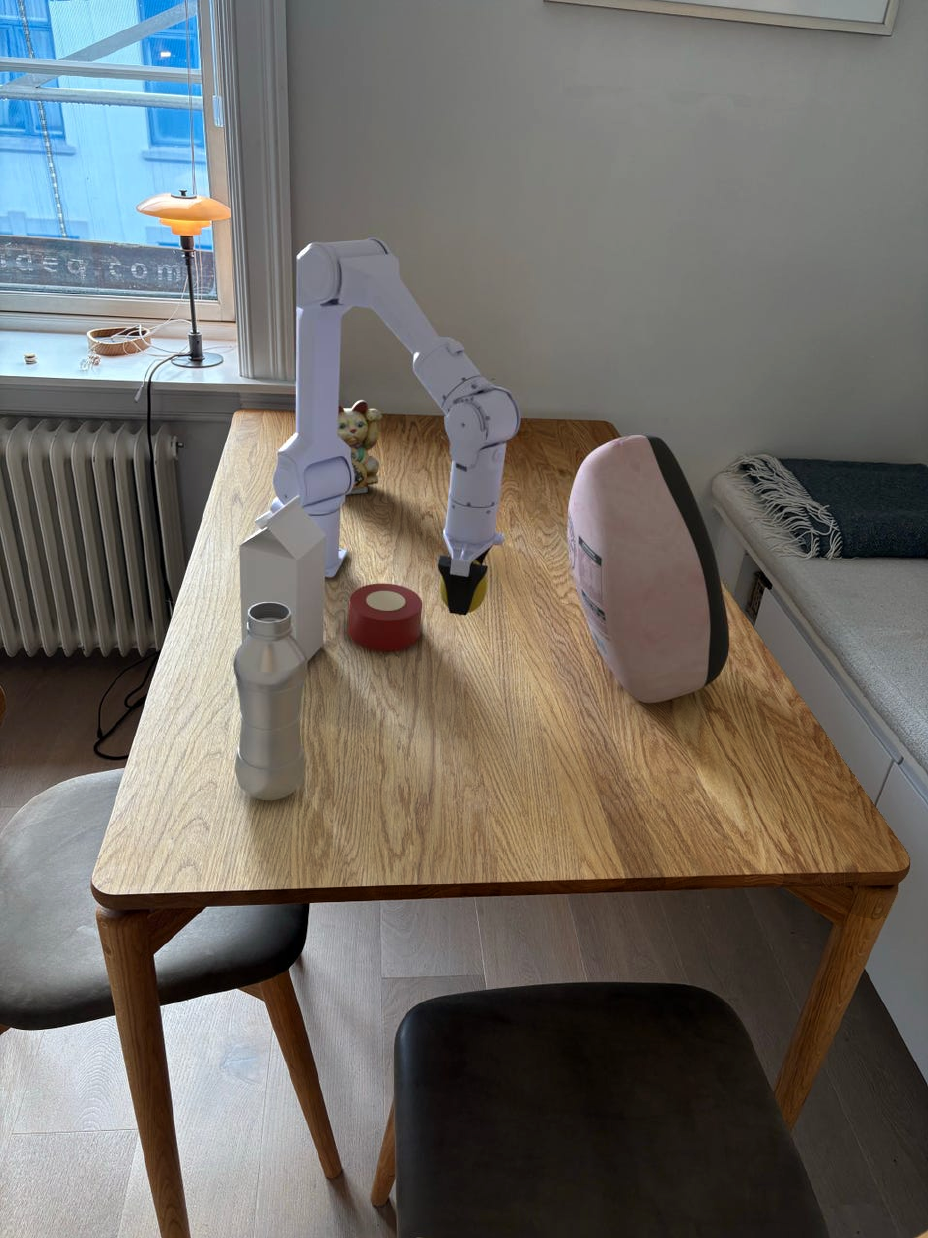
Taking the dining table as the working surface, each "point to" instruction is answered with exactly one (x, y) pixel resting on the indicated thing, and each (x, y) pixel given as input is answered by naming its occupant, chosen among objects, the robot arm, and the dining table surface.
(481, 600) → the lemon
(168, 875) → the dining table surface
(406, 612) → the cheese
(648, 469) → the pink backpack
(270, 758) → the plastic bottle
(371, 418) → the decorative figurine
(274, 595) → the milk carton
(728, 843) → the dining table surface
